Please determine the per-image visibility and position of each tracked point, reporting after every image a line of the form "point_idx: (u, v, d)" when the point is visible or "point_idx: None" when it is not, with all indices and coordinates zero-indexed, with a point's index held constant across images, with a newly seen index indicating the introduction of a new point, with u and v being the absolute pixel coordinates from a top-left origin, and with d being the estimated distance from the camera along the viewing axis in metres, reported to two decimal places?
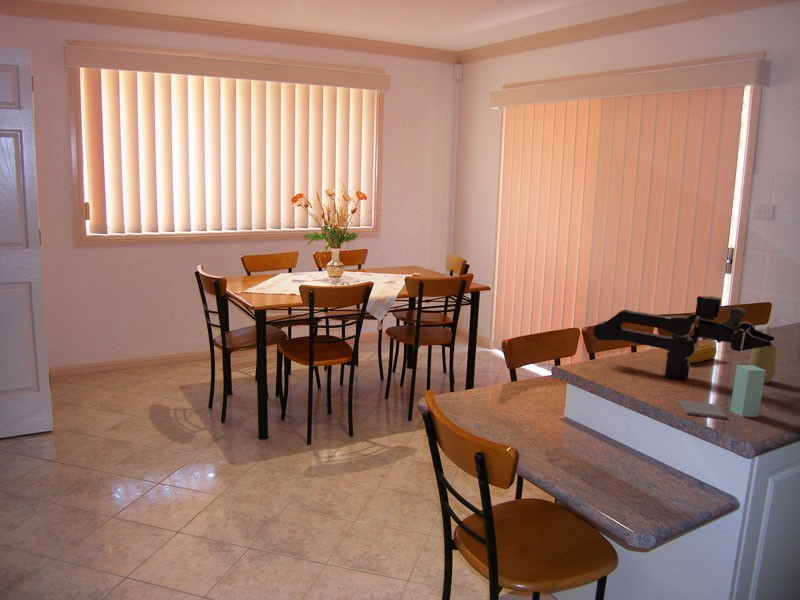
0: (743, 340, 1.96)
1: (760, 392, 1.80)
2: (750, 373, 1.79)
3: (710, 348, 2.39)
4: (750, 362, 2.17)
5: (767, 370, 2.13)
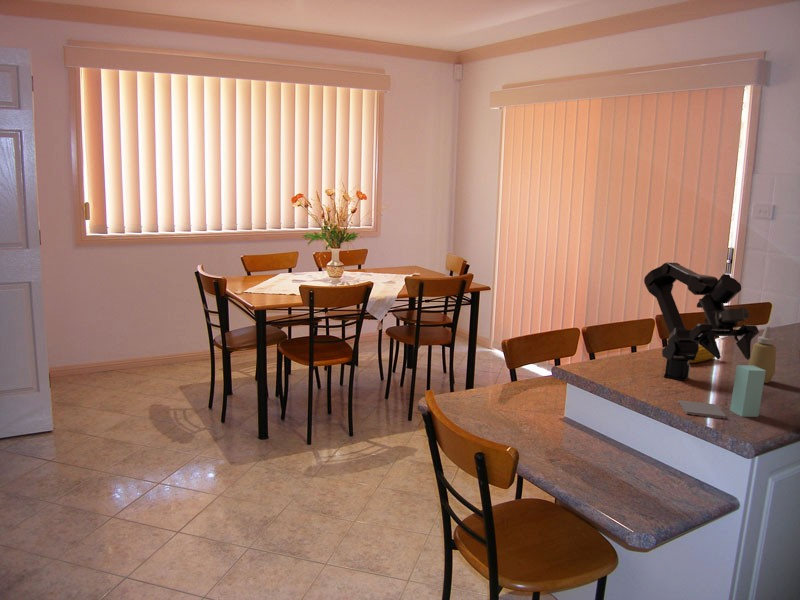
0: (700, 336, 1.91)
1: (760, 392, 1.80)
2: (750, 373, 1.79)
3: None
4: (750, 362, 2.17)
5: (767, 370, 2.13)
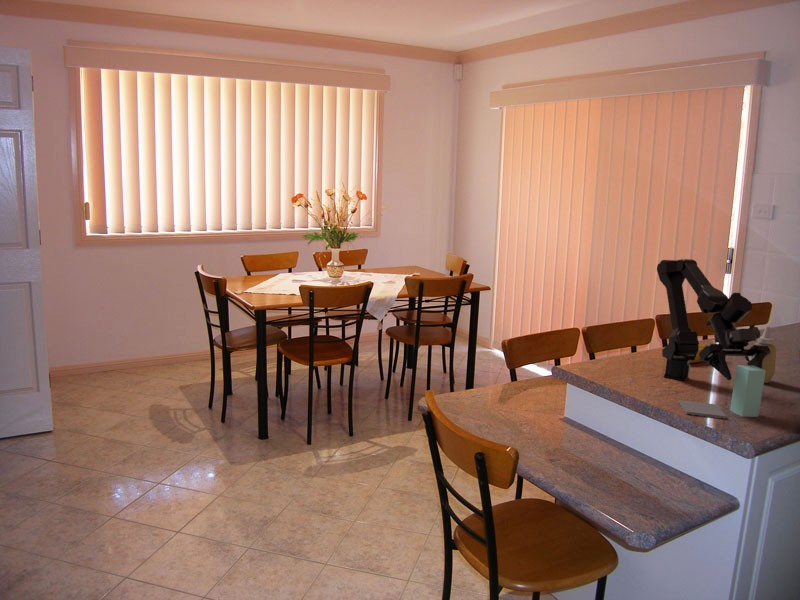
0: (710, 356, 1.86)
1: (760, 392, 1.80)
2: (750, 373, 1.79)
3: None
4: None
5: (767, 370, 2.13)
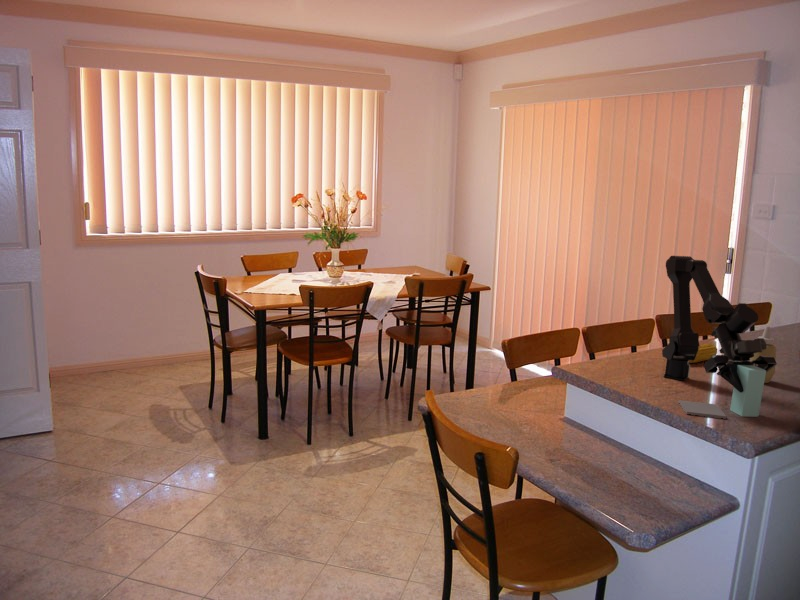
0: (722, 368, 1.84)
1: (760, 392, 1.80)
2: (751, 373, 1.79)
3: (710, 348, 2.39)
4: None
5: None
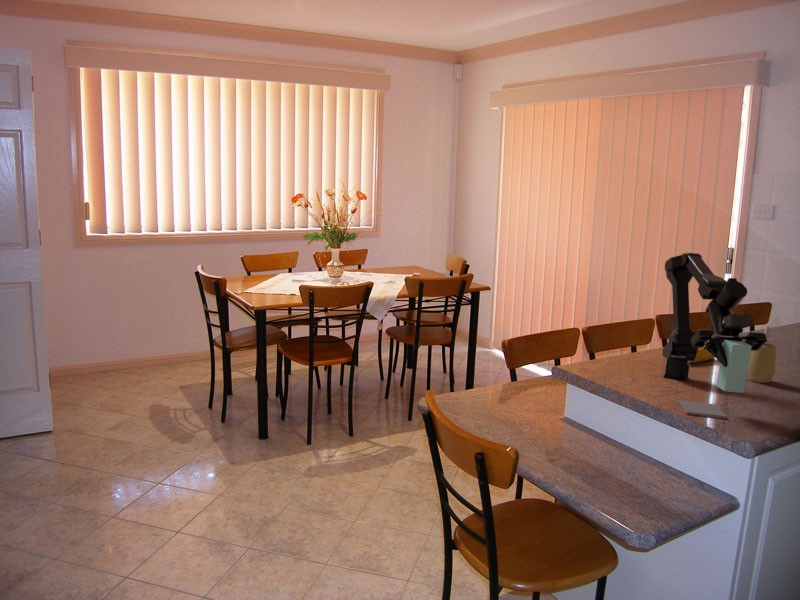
0: (708, 342, 1.83)
1: (745, 368, 1.78)
2: (734, 348, 1.77)
3: None
4: (750, 362, 2.17)
5: (767, 370, 2.13)
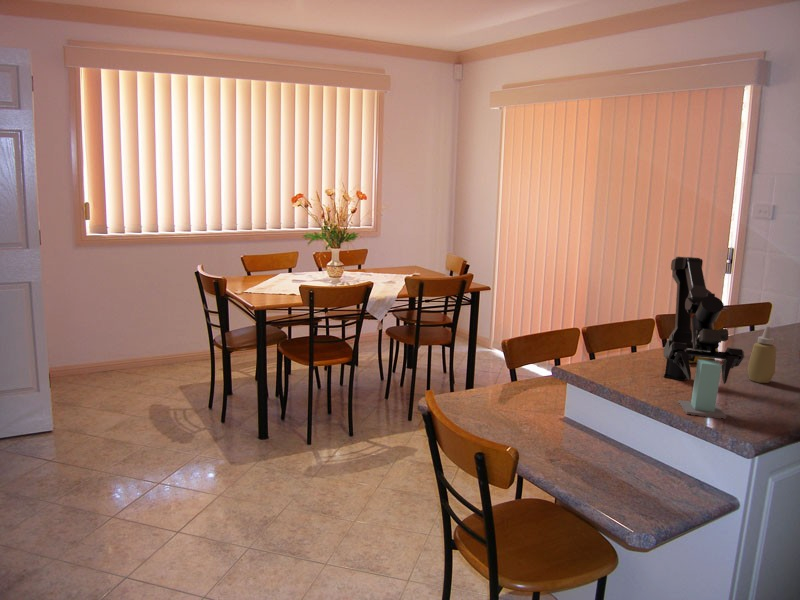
0: (675, 355, 1.86)
1: (716, 387, 1.79)
2: (703, 367, 1.79)
3: None
4: (750, 362, 2.17)
5: (767, 370, 2.13)
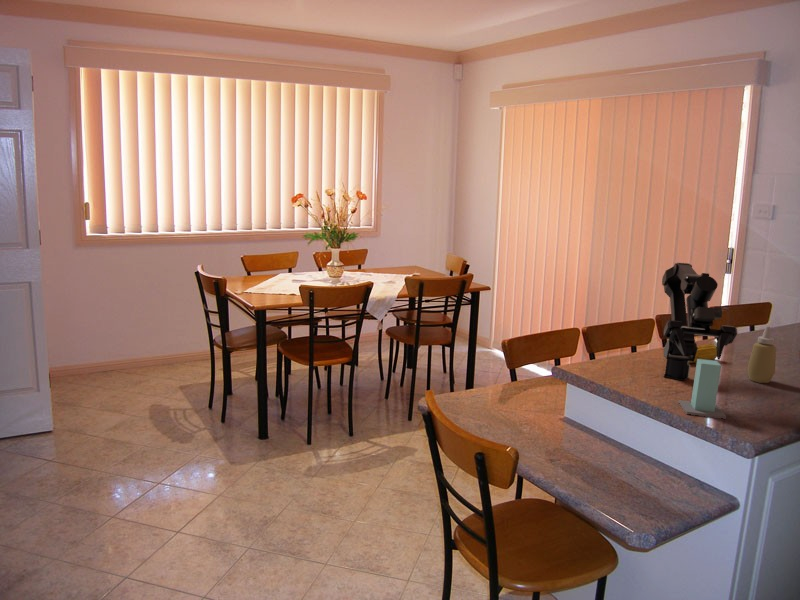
0: (671, 333, 1.93)
1: (716, 387, 1.79)
2: (703, 367, 1.79)
3: (711, 349, 2.38)
4: (750, 362, 2.17)
5: (767, 370, 2.13)
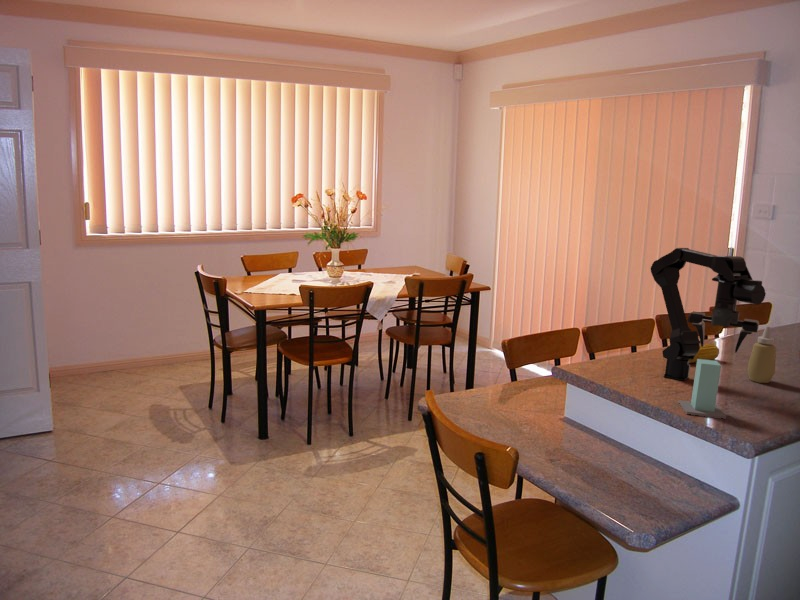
0: None
1: (716, 387, 1.79)
2: (703, 367, 1.79)
3: (711, 349, 2.38)
4: (750, 362, 2.17)
5: (767, 370, 2.13)
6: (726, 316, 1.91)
